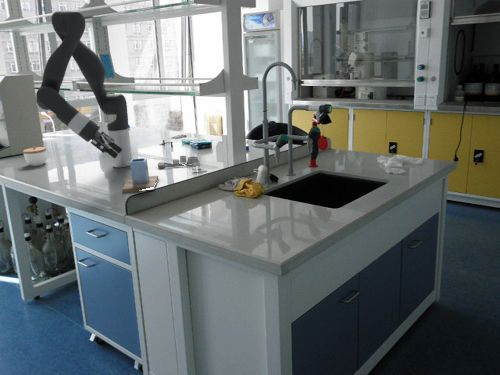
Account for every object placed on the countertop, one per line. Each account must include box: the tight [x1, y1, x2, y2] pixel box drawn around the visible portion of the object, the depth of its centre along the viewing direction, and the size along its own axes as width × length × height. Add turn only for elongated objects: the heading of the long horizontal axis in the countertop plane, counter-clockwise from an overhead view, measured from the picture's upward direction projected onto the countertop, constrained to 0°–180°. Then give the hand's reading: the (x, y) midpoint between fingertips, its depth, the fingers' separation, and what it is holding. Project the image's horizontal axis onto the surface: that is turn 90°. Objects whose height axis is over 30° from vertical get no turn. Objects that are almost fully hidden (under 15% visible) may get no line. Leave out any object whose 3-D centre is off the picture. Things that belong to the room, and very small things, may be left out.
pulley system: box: [157, 155, 200, 168], centre depth 208 cm, size 27×5×15 cm
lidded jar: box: [22, 145, 48, 167], centre depth 231 cm, size 11×11×9 cm
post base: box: [121, 175, 159, 194], centre depth 182 cm, size 16×12×9 cm
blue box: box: [129, 157, 150, 185], centre depth 181 cm, size 6×6×9 cm
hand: (118, 153), depth 179 cm, fingers open, 8 cm apart
